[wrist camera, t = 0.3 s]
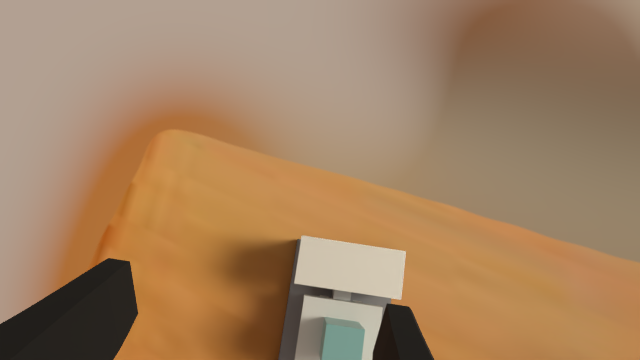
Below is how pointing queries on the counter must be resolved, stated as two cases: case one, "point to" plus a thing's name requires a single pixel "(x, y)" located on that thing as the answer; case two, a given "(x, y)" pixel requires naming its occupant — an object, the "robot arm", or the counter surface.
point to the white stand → (339, 279)
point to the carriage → (337, 329)
